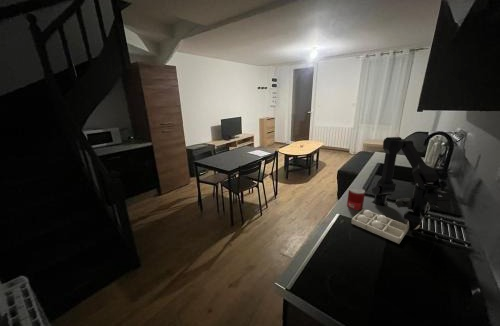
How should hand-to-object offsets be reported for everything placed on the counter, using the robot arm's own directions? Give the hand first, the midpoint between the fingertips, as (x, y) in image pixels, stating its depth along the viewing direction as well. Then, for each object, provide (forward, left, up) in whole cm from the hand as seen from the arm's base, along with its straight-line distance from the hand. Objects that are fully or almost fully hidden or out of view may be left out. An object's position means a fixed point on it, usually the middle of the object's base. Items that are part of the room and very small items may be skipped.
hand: (413, 226), depth 97 cm
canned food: (0, -27, -2) cm, 27 cm away
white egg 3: (+14, -11, -1) cm, 18 cm away
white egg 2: (+7, -18, -1) cm, 19 cm away
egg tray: (+10, -11, -1) cm, 15 cm away
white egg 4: (+7, -11, -1) cm, 13 cm away
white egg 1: (+14, -18, -1) cm, 23 cm away
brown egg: (0, 0, -1) cm, 1 cm away
